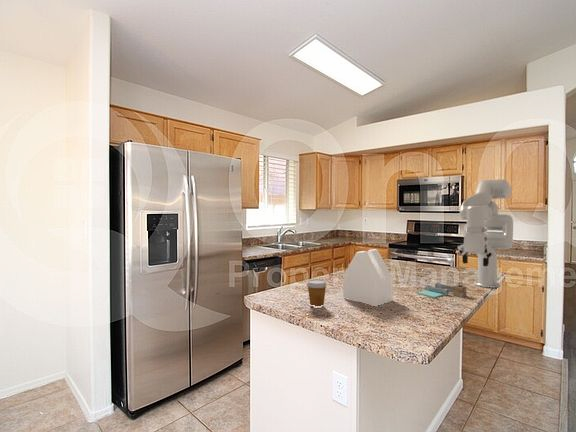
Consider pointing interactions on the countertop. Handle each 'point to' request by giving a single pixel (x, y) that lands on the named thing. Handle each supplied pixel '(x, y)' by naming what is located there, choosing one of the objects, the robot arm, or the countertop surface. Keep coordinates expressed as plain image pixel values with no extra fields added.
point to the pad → (430, 294)
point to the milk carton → (368, 279)
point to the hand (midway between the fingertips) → (475, 264)
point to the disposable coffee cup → (316, 291)
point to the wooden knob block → (459, 290)
